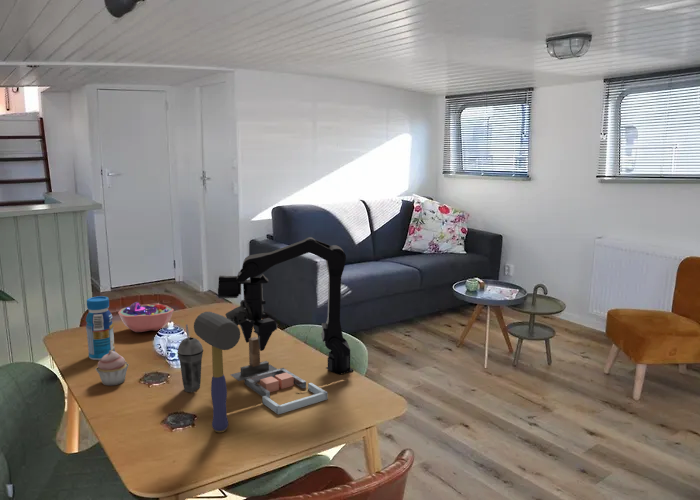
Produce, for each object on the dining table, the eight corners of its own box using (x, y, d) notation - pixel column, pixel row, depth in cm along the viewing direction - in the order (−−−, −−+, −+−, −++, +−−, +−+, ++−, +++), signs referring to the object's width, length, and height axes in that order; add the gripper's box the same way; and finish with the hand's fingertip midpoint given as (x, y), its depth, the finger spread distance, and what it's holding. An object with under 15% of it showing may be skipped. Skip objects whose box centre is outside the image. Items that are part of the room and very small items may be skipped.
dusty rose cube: (272, 387, 174) (271, 376, 173) (278, 392, 171) (278, 380, 170) (259, 390, 172) (259, 379, 171) (266, 395, 169) (266, 384, 168)
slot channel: (283, 375, 183) (283, 367, 182) (306, 389, 172) (306, 381, 172) (244, 385, 175) (244, 377, 174) (266, 401, 164) (265, 392, 164)
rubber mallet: (195, 425, 150) (190, 312, 145) (222, 417, 155) (218, 307, 149) (218, 445, 141) (213, 324, 135) (246, 435, 146) (242, 318, 140)
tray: (311, 388, 173) (311, 382, 172) (327, 399, 166) (327, 392, 166) (262, 403, 163) (262, 396, 163) (278, 414, 157) (277, 407, 156)
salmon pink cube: (286, 383, 177) (286, 372, 176) (293, 387, 174) (293, 376, 173) (275, 386, 175) (274, 375, 174) (281, 391, 171) (281, 379, 171)
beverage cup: (209, 385, 174) (207, 321, 171) (195, 395, 168) (192, 328, 164) (188, 382, 177) (185, 318, 173) (174, 392, 170) (170, 325, 166)
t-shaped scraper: (265, 367, 187) (265, 334, 185) (269, 370, 185) (268, 336, 183) (240, 374, 181) (238, 340, 179) (243, 377, 180) (242, 342, 178)
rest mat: (270, 366, 190) (270, 364, 190) (279, 372, 185) (279, 370, 185) (230, 376, 182) (230, 374, 181) (238, 382, 177) (238, 380, 177)
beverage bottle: (82, 358, 195) (77, 300, 192) (101, 350, 203) (97, 294, 199) (102, 362, 192) (97, 303, 189) (121, 353, 200) (117, 296, 196)
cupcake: (96, 378, 180) (94, 347, 178) (129, 373, 183) (127, 343, 181) (96, 390, 171) (93, 357, 169) (130, 385, 175) (128, 353, 173)
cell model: (166, 338, 216) (164, 308, 214) (111, 337, 216) (109, 308, 214) (179, 324, 233) (178, 296, 230) (129, 323, 233) (127, 295, 231)
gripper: (215, 295, 181) (217, 343, 184) (243, 308, 167) (244, 361, 170) (248, 289, 188) (249, 336, 191) (277, 302, 173) (278, 352, 176)
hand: (254, 346), depth 182 cm, fingers open, 9 cm apart
